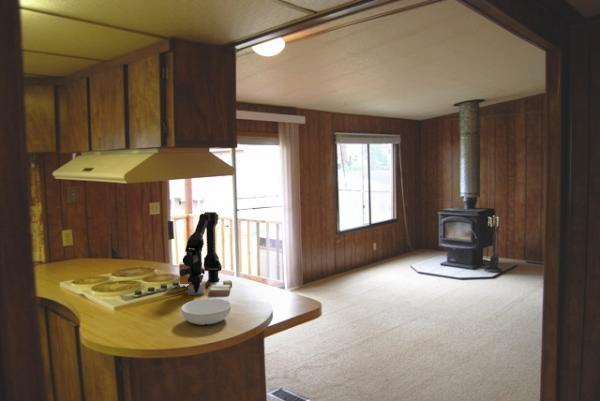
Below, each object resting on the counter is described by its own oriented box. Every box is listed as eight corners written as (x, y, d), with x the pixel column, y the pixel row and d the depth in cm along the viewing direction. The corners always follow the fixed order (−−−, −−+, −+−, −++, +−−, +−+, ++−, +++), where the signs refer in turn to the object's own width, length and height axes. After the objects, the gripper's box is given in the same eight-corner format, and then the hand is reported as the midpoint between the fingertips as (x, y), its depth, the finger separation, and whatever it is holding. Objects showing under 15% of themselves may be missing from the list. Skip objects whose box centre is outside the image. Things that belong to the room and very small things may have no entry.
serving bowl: (173, 329, 190) (173, 312, 190) (192, 312, 211) (192, 297, 210) (223, 331, 187) (222, 314, 187) (237, 313, 208) (236, 298, 207)
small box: (179, 287, 252) (178, 264, 250) (181, 284, 258) (180, 261, 257) (195, 287, 253) (194, 263, 252) (195, 284, 259) (195, 261, 258)
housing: (190, 292, 243) (189, 282, 243) (205, 291, 244) (205, 282, 243) (188, 294, 238) (188, 284, 238) (204, 294, 239) (203, 284, 238)
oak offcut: (223, 286, 254) (223, 281, 254) (230, 285, 256) (230, 280, 255) (225, 288, 250) (224, 282, 250) (232, 287, 252) (232, 281, 252)
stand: (211, 290, 245) (211, 285, 245) (230, 289, 246) (230, 284, 246) (209, 296, 236) (209, 290, 235) (229, 295, 236) (229, 289, 236)
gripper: (183, 258, 248) (184, 286, 249) (176, 266, 230) (178, 297, 231) (204, 257, 249) (205, 286, 250) (199, 265, 230) (200, 296, 232)
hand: (196, 291), depth 241 cm, fingers closed on housing, 5 cm apart
